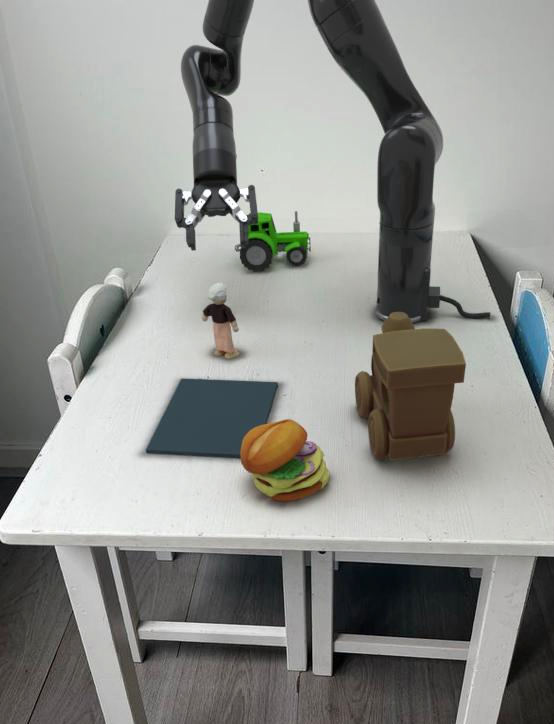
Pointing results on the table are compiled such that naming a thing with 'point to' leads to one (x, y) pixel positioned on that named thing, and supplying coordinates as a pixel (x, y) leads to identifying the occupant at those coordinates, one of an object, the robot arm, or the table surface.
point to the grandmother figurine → (221, 321)
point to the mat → (212, 417)
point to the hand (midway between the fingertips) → (217, 247)
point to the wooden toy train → (410, 390)
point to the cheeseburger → (283, 461)
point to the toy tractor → (273, 244)
